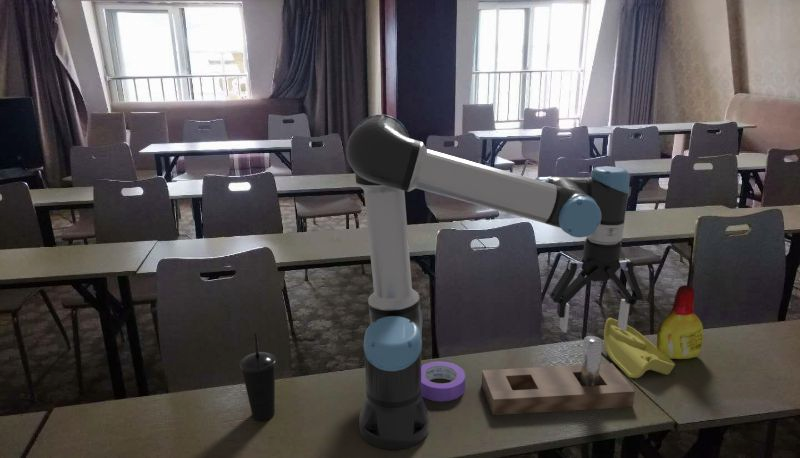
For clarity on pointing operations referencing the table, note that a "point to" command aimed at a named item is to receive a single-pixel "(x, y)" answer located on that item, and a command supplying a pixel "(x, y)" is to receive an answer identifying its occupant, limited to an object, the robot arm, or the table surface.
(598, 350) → the steel pin
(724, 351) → the table surface
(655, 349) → the plastic component
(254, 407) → the drinking cup
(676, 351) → the bottle
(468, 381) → the table surface
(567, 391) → the brown block with holes
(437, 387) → the masking tape
